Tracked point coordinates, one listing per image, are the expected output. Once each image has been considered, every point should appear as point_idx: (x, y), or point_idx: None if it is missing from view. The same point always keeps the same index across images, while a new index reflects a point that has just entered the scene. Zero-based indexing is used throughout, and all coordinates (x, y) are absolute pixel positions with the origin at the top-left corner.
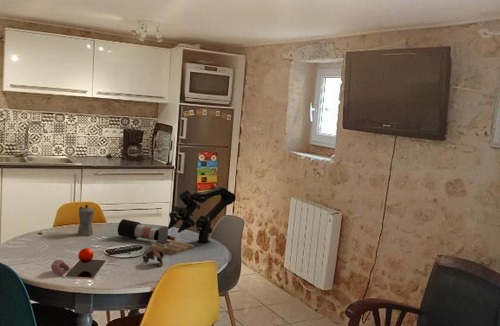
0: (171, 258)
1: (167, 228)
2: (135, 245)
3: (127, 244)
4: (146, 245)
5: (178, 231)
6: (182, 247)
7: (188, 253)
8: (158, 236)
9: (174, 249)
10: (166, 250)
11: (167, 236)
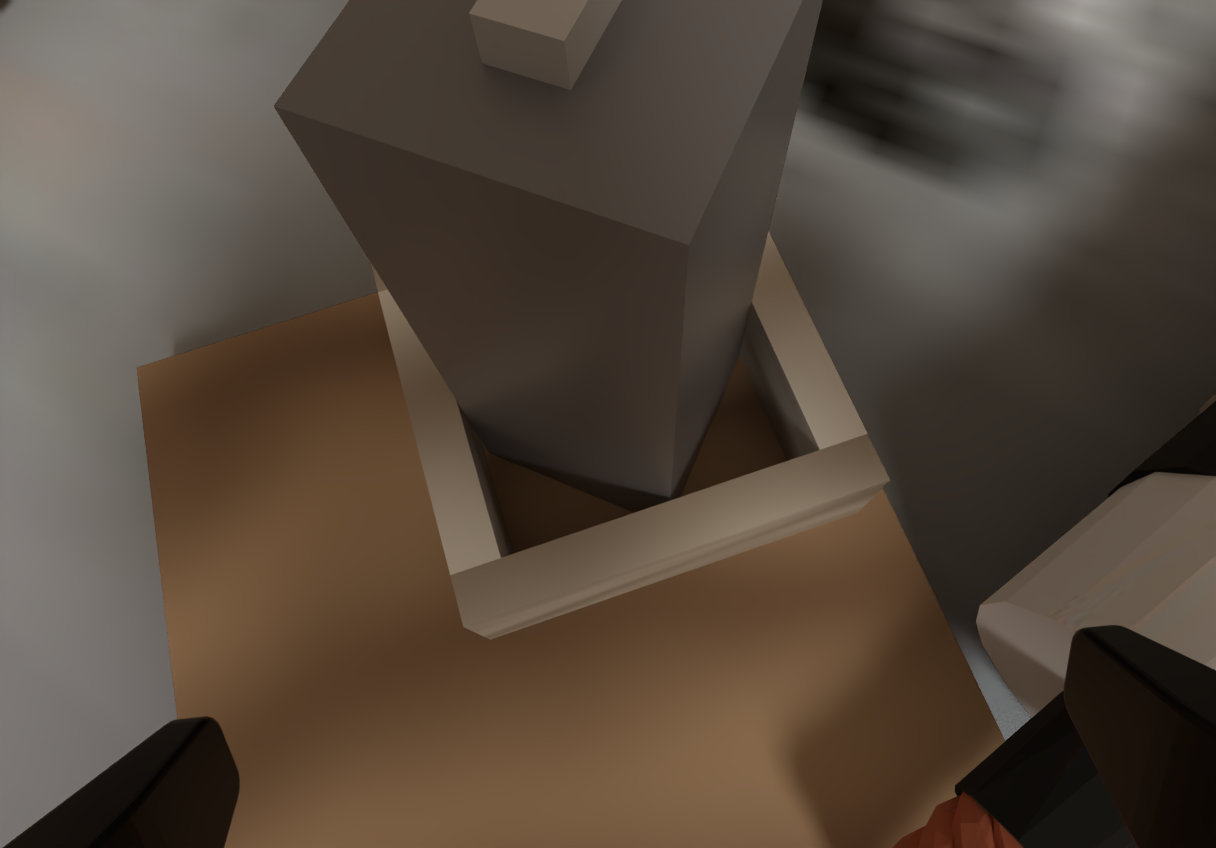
0: (7, 283)
1: (294, 85)
2: (1033, 91)
3: (1137, 6)
4: (977, 258)
5: (155, 762)
6: (272, 827)
7: (4, 794)
8: (1142, 477)
9: (252, 523)
10: (291, 327)
11: (414, 323)
